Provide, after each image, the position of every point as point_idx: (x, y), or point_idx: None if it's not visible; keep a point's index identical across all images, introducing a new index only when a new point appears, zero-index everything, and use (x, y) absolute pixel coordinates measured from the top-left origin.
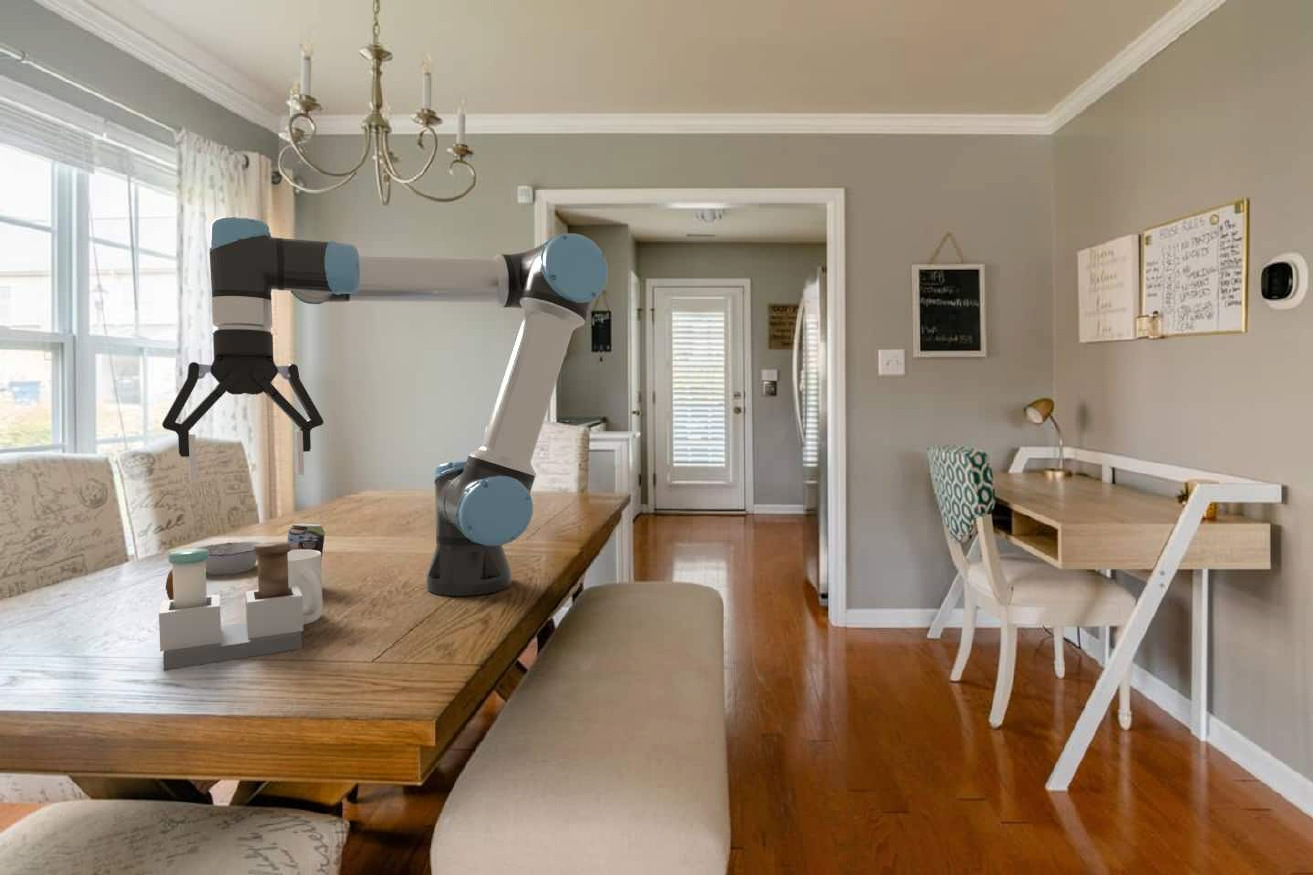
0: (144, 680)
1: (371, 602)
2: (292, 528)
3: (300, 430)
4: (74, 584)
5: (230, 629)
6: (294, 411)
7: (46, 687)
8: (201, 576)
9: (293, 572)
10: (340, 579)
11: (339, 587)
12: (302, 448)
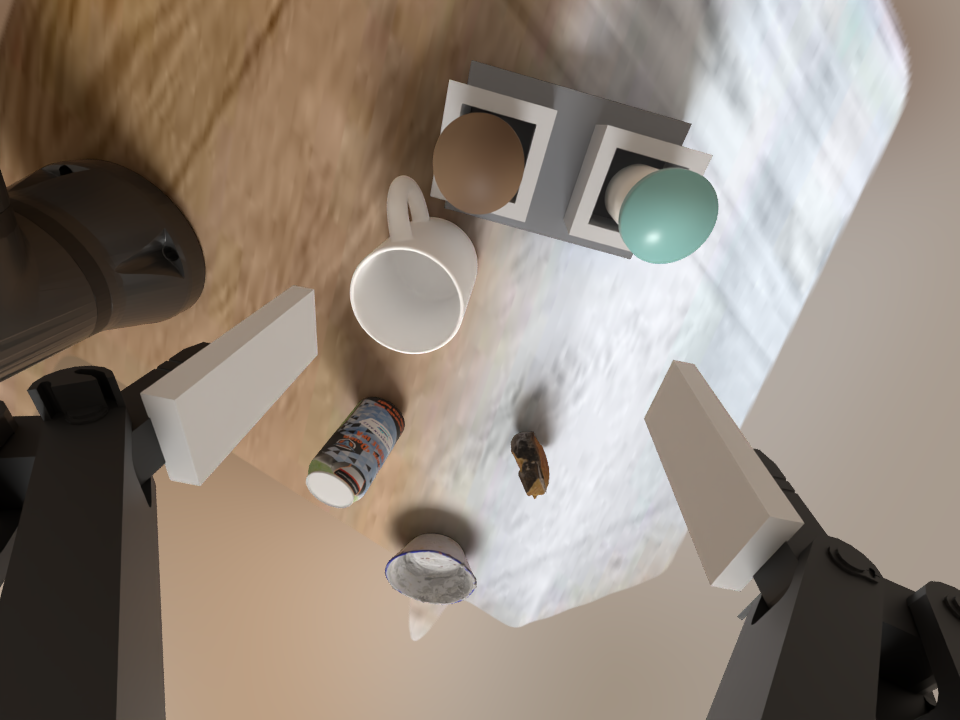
0: (726, 85)
1: (305, 268)
2: (358, 487)
3: (159, 446)
4: (592, 592)
5: (553, 203)
6: (48, 527)
7: (825, 173)
8: (638, 178)
9: (424, 240)
10: (322, 423)
11: (332, 385)
12: (223, 338)
